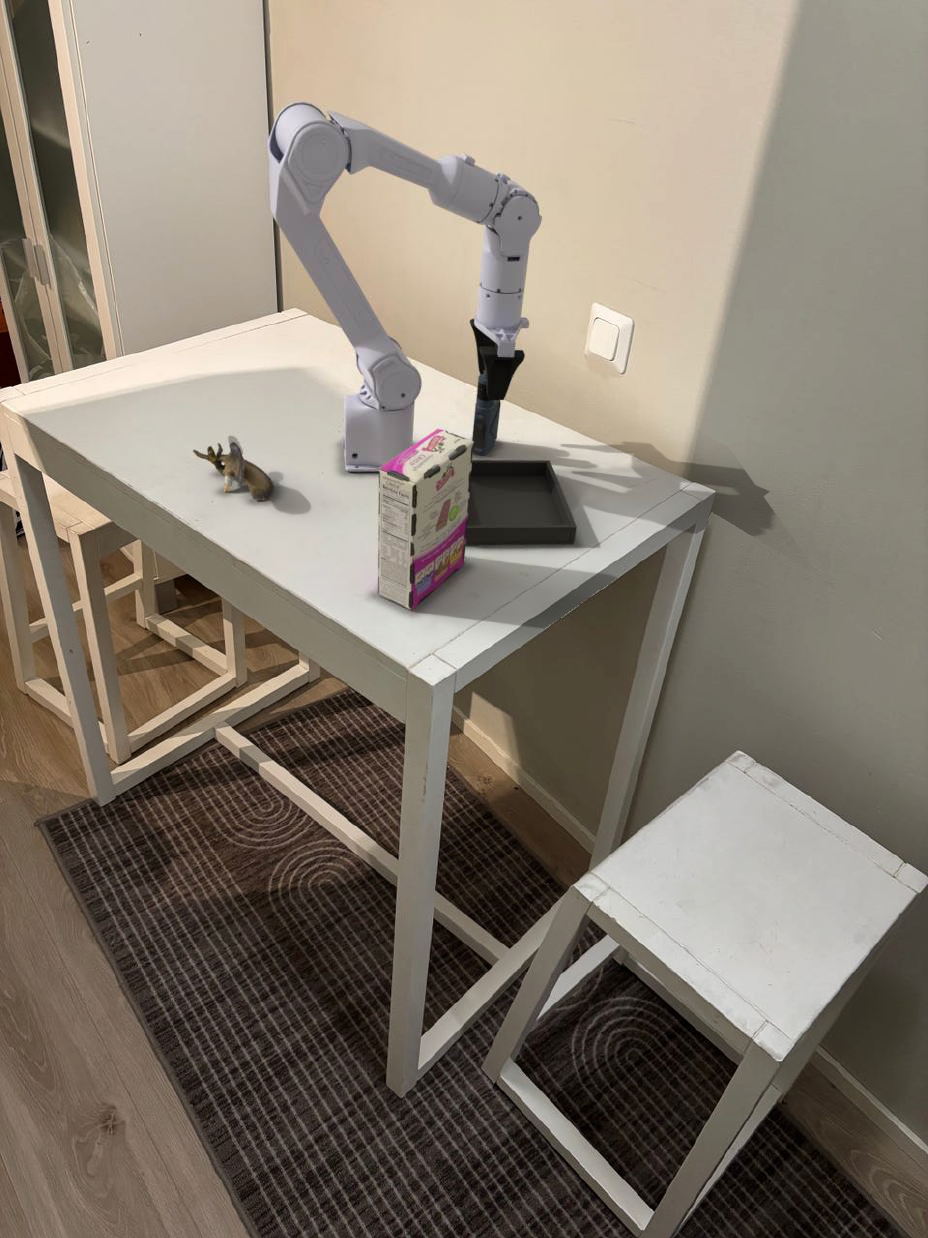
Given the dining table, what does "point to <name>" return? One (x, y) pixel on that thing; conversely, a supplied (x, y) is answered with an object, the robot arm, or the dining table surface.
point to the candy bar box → (423, 517)
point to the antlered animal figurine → (239, 469)
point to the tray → (517, 504)
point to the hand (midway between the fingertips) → (491, 386)
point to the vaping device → (485, 419)
